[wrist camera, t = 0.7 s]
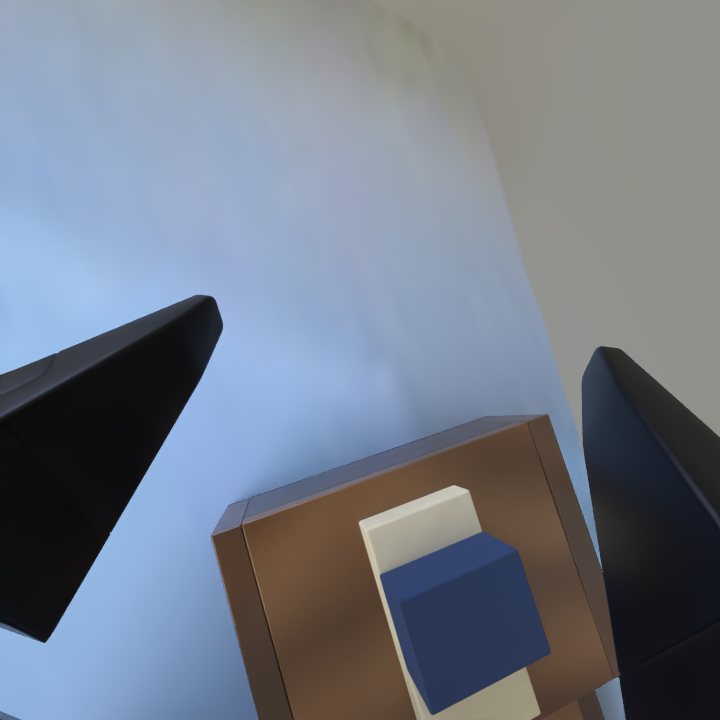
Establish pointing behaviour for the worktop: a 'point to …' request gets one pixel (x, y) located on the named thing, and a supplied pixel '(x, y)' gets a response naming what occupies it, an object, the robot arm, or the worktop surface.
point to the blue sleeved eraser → (456, 609)
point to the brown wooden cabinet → (359, 588)
